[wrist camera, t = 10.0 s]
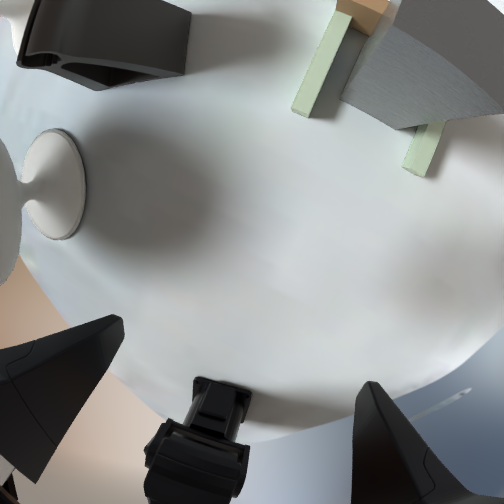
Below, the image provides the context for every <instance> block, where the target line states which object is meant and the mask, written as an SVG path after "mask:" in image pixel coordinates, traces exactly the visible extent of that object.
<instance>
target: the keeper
mask: <svg viewBox="0 0 504 504" xmlns="http://www.w3.org/2000/svg"><path fill="white" fill-rule="evenodd" d="M389 2H390V1H388V0H337V5H336V10H335V12H334V14H333V16H332V18H331V20H330V23H329V25H328V27H327V29H326V31H325V33H324V35H323V38H322V40H321V42H320V44H319V46H318V48H317V51H316V53H315V55H314V57H313V59H312V61H311V64H310V66H309V68H308V70H307V72H306V75H305V77H304V79H303V81H302V84H301V86H300V88H299V90H298V93H297V95H296V97H295V99H294V102H293V104H292V106H291V109H292V112H295V113H297V114H300V115H302V116H304V117H307V118H308V117H309V115H310V113H311V110H312V108H313V106H314V104H315V101H316V99H317V97H318V95H319V92H320V90H321V88H322V85H323V83H324V81H325V79H326V76H327V74H328V72H329V70H330V67H331V65H332V63H333V61H334V58H335V56H336V54H337V52H338V49H339V47H340V45H341V43H342V40H343V38H344V36H345V34H346V31H347V29H348V27H350V28H353V29H355V30H357V31H359V32H362V33H364V34H366V35H368V36H370V35H371V33H372V31H373V30H374V28H375V26H376V24H377V23H378V21H379V19H380V18H381V16H382V14H383V12H384V11H385V9H386V7H387V6H388V4H389ZM445 123H446V121H440V122H434V123H428V124H422V125H419V126H418V128H417V131H416V133H415V136H414V138H413V141H412V143H411V146H410V148H409V150H408V153H407V155H406V157H405V160H404V162H403V164H402V166H401V167H403V168H404V169H406V170H407V171H409V172H411V173H412V174H414V175H417V176H421V177H424V176H425V173H426V171H427V169H428V166H429V164H430V162H431V159H432V157H433V155H434V152H435V150H436V147H437V145H438V142H439V139H440V137H441V134H442V131H443V129H444V126H445Z"/></svg>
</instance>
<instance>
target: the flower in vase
mask: <svg viewBox="0 0 504 504" xmlns="http://www.w3.org/2000/svg"><path fill="white" fill-rule="evenodd" d="M34 1H35V0H0V17H3V18H6V19H8V20H9V21H10V23H11V27H12V38H13V45H14V48H15V51H16V54H17V55H18V53H19V49H20V45H21V41H22V37H23V34H24V30H25V27H26V24H27V20H28V17H29V14H30V12H31V9H32V6H33V3H34Z"/></svg>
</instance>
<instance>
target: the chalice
mask: <svg viewBox="0 0 504 504" xmlns="http://www.w3.org/2000/svg"><path fill="white" fill-rule="evenodd" d="M85 193H86V184H85V173H84V168H83V164H82V160H81V156H80V154H79V152H78V149H77V147H76V145H75V144H74V142H73V141H72V139H71V138H70V137H69V136H68V135H67V134H66V133H65V132H63V131H61V130H58V129H48V130H46V131H44V132H42V133H41V134H40V135H39V136H37V137H36V139H35V140H34V141H33V143H32V144H31V146H30V148H29V150H28V152H27V155H26V158H25V161H24V165H23V172H22V182H20V181H18V180H17V176H16V173H15V169H14V165H13V162H12V160H11V158H10V155H9V153H8V151H7V149H6V147H5V145H4V143H3V142H2V141H1V139H0V286H1V285H2V284H4V283H5V282H6V280H7V279H8V277H9V276H10V274H11V273H12V271H13V269H14V267H15V264H16V261H17V258H18V255H19V250H20V242H21V231H22V213H21V209H22V207H23V206H24V204H25V206H26V209H27V212H28V214H29V216H30V218H31V220H32V222H33V223H34V225H35V226H36V227H37V229H38V230H39V231H40V232H41V233H42V234H44V235H45V236H46V237H48V238H50V239H53V240H63V239H66V238H68V237H69V236H70V235H71V234H73V233H74V231H75V230H76V228H77V227H78V225H79V223H80V220H81V217H82V214H83V210H84V204H85Z"/></svg>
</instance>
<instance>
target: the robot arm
mask: <svg viewBox="0 0 504 504" xmlns="http://www.w3.org/2000/svg"><path fill="white" fill-rule="evenodd" d="M124 335H125V333H124V325H123V319H122V318H121V317H119V316H117V315H114V314H111V315H108V316H105V317H102V318H99V319H96V320H93V321H91V322H88V323H85V324H82V325H79V326H76V327H73V328H70V329H67V330H64V331H61V332H58V333H55V334H52V335H48V336H45V337H43V338H39V339H37V340H33V341H30V342H27V343H23V344H20V345H17V346H13V347H9V348H4V349H0V504H20V503H19V502H18V501H17V500H18V497H17V493H16V489H15V484H14V480H13V475H12V472H13V471H14V469H15V468H16V469H17V470H18V471H19V472H21V473H22V474H23V475H25V476H26V477H27V478H28V479H29V480H31V481H32V482H33V483H35V484H36V483H37V481H38V480H39V478H40V476H41V474H42V473H43V471H44V469H45V467H46V466H47V464H48V462H49V460H50V459H51V457H52V455H53V454H54V452H55V450H56V449H57V447H58V445H59V443H60V442H61V440H62V438H63V437H64V435H65V434H66V432H67V430H68V429H69V427H70V425H71V424H72V422H73V421H74V419H75V418H76V416H77V415H78V413H79V411H80V410H81V408H82V407H83V405H84V404H85V402H86V401H87V399H88V398H89V396H90V395H91V393H92V391H93V390H94V389H95V387H96V386H97V384H98V383H99V381H100V380H101V378H102V377H103V375H104V374H105V372H106V370H107V369H108V367H109V366H110V364H111V362H112V360H113V358H114V356H115V354H116V353H117V351H118V349H119V347H120V345H121V343H122V342H123V340H124ZM251 397H252V393H251V392H250V391H247V390H243V389H239V388H235V387H231V386H227V385H224V384H220V383H217V382H213V381H210V380H207V379H203V378H200V377H195V379H194V381H193V398H192V405H191V407H190V409H189V412H188V414H187V416H186V418H185V420H184V423H183V424H180V423H178V422H175V421H173V420H172V419H170V418H168V420H167V421H166V423H162V424H161V425H160V427H159V429H158V431H157V433H156V435H155V436H154V437H153V438H152V439H151V441H150V442H149V443H148V444H147V445H146V446H145V448H144V452H145V455H146V459H145V460H146V461H145V467H147V468H149V471H148V473H147V476H146V478H145V481H144V492H145V496H146V497H147V499H148V502H149V504H229V503H230V501H231V498H232V497H233V498H237V497H238V495H239V494H240V492H241V489H242V487H243V485H244V482H245V478H246V473H247V467H248V460H249V452H250V446H249V445H242V444H239V443H235V440H236V437H237V433H238V430H239V426H240V423H243V422H244V420H245V416H246V413H247V410H248V407H249V404H250V401H251ZM352 442H353V457H352V459H353V462H352V494H351V504H504V498H498V497H491V496H484V495H478V494H475V493H472V492H470V491H469V490H467V489H466V488H465V487H464V486H463V485H462V484H461V483H460V482H459V481H458V480H457V479H456V478H455V477H454V476H453V475H452V473H450V471H449V470H448V469H447V468H446V467H445V466H444V465H443V464H442V463H441V461H440V460H439V459H438V458H437V456H436V455H435V454H434V453H433V452H432V450H431V449H430V448H429V447H428V445H427V444H426V442H425V441H424V440H423V439H422V437H421V436H420V435H419V434H418V432H417V431H416V430H415V428H414V427H413V426H412V425H411V423H410V422H409V421H408V419H407V418H406V417H405V416H404V414H403V413H402V412H401V411H400V409H399V408H398V407H397V406H396V404H395V403H394V402H393V400H392V399H391V398H390V397H389V395H388V394H387V393H386V392H385V390H384V389H383V388H382V387H381V385H380V384H379V383H378V382H374V381H367V382H366V383H365V384H364V386H363V387H362V389H361V390H360V392H359V393H358V395H357V397H356V402H355V415H354V426H353V440H352Z"/></svg>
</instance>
